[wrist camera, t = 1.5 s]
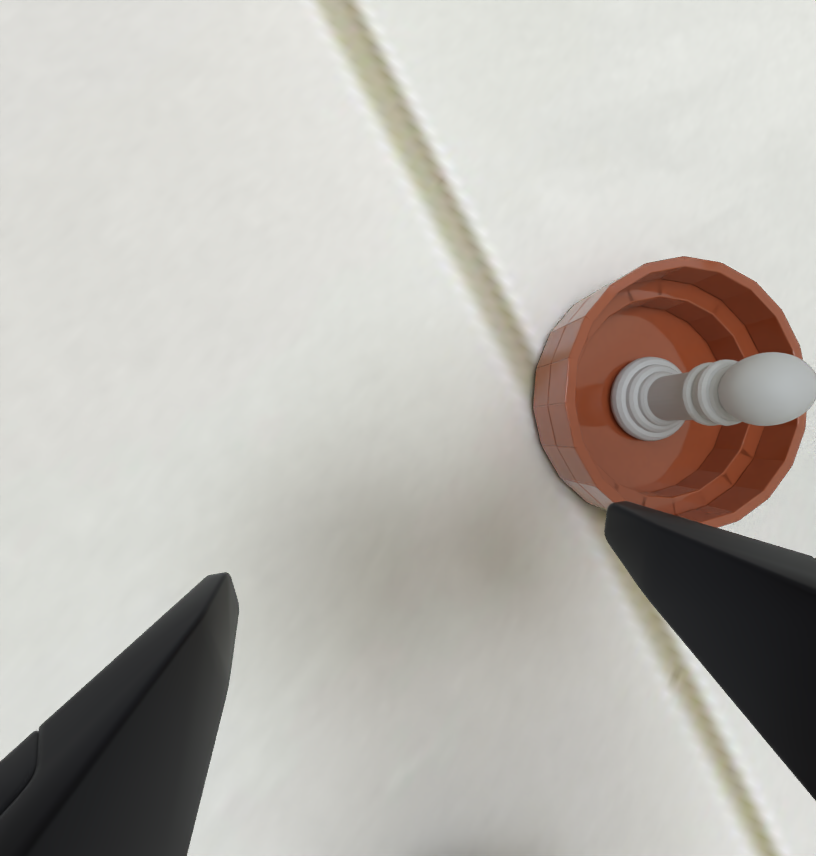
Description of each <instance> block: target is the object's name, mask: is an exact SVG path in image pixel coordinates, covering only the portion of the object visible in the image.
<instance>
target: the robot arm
mask: <svg viewBox="0 0 816 856" xmlns="http://www.w3.org/2000/svg"><path fill="white" fill-rule="evenodd" d="M604 532H605V537H606V540H607V542H608V543H609V545H610V546H611V548H612V549H613V550H614V552H615V553H616V555H617V556H618V558H619V559H620V561H621V562H622V563H623V565H624V566H625V568H626V569H627V571H628V572H629V574H630V575H631V576H632V578H633V579H634V581H635V582H636V584H637V585H638V587H639V588H640V589H641V591H642V592H643V593H644V595H645V596H646V597H647V598H648V600H649V601H650V602H651V604H652V605H653V606H654V607H655V608H656V610H657V611H658V612H659V613H660V614H661V616H662V617H663V618H664V619H665V620H666V622H667V623H668V624H669V625H670V626H671V628H672V629H673V630H674V631H675V632H676V634H677V635H678V636H679V637H680V638H681V640H682V641H683V642H684V643H685V644H686V646H687V647H688V648H689V649H690V650H691V652H692V653H693V654H694V655H695V656H696V658H697V659H698V660H699V661H700V662H701V664H702V665H703V666H704V667H705V668H706V670H707V671H708V672H709V673H710V674H711V676H712V677H713V678H714V679H715V680H716V682H717V683H718V684H719V685H720V686H721V688H722V689H723V690H724V691H725V692H726V694H727V695H728V696H729V697H730V698H731V700H732V701H733V702H734V703H735V704H736V706H737V707H738V708H739V709H740V710H741V712H742V713H743V714H744V715H745V716H746V718H747V719H748V720H749V721H750V722H751V724H752V725H753V726H754V727H755V728H756V730H757V731H758V732H759V733H760V734H761V736H762V737H763V738H764V739H765V740H766V742H767V743H768V744H769V745H770V746H771V748H772V749H773V750H774V751H775V752H776V754H777V755H778V756H779V757H780V758H781V760H782V761H783V762H784V763H785V764H786V766H787V767H788V768H789V769H790V770H791V772H792V773H793V774H794V775H795V776H796V778H797V779H798V780H799V781H800V782H801V784H802V785H803V786H804V787H805V788H806V790H807V791H808V792H809V793H810V794H811V796H812V797H813V798H814V799H815V800H816V558H815V559H814V558H813V557H812V556H809V555H806V554H803V553H799V552H796V551H793V550H789V549H786V548H783V547H779V546H776V545H772V544H769V543H766V542H762V541H759V540H756V539H752V538H749V537H746V536H742V535H739V534H736V533H732V532H729V531H726V530H722V529H719V528H716V527H712V526H709V525H706V524H702V523H699V522H695V521H692V520H689V519H685V518H682V517H679V516H675V515H672V514H669V513H665V512H662V511H659V510H655V509H652V508H649V507H645V506H642V505H639V504H635V503H632V502H629V501H621V502H615V503H611V504H610V505H609V506H608V508H607V514H606V522H605V531H604ZM238 615H239V603H238V599H237V596H236V592H235V589H234V585H233V582H232V579H231V576H230V575H229V574H228V573H226V572H224V573H219V574H213V575H209V576H207V577H206V578H204V579H203V580H202V581H201V582H200V583H199V584H198V585H196V586H195V587H194V588H193V589H192V590H191V591H190V592H189V593H188V594H186V595H185V596H184V597H183V598H182V599H181V600H180V601H179V602H178V603H176V604H175V605H174V606H173V607H172V608H171V609H170V610H169V611H168V612H166V613H165V614H164V615H163V616H162V617H161V618H160V619H159V620H158V621H156V622H155V623H154V624H153V625H152V626H151V627H150V628H149V629H147V630H146V631H145V632H144V633H143V634H142V635H141V636H140V637H139V638H137V639H136V640H135V641H134V642H133V643H132V644H131V645H130V646H129V647H127V648H126V649H125V650H124V651H123V652H122V653H121V654H120V655H119V656H117V657H116V658H115V659H114V660H113V661H112V662H111V663H110V664H109V665H107V666H106V667H105V668H104V669H103V670H102V671H101V672H100V673H99V674H97V675H96V676H95V677H94V678H93V679H92V680H91V681H90V682H89V683H87V684H86V685H85V686H84V687H83V688H82V689H81V690H80V691H79V692H77V693H76V694H75V695H74V696H73V697H72V698H71V699H70V700H68V701H67V702H66V703H65V704H64V705H63V706H62V707H61V708H60V709H58V710H57V711H56V712H55V713H54V714H53V715H52V716H51V717H50V718H48V719H47V720H46V721H45V722H44V723H43V724H42V725H41V726H40V727H39V731H34V732H33V733H32V734H30V735H29V736H28V737H27V738H26V739H25V740H24V741H23V742H22V743H20V744H19V745H18V746H17V747H16V748H15V749H14V750H13V751H12V752H10V753H9V754H8V755H7V756H6V757H5V758H4V759H3V760H1V761H0V856H187V853H188V849H189V845H190V841H191V837H192V832H193V828H194V824H195V820H196V816H197V812H198V808H199V804H200V800H201V796H202V792H203V788H204V784H205V780H206V776H207V772H208V768H209V764H210V760H211V756H212V752H213V748H214V744H215V740H216V736H217V732H218V728H219V724H220V720H221V716H222V712H223V708H224V704H225V700H226V695H227V691H228V686H229V680H230V674H231V666H232V659H233V652H234V644H235V637H236V630H237V623H238Z"/></svg>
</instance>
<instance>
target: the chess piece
mask: <svg viewBox="0 0 816 856" xmlns="http://www.w3.org/2000/svg"><path fill="white" fill-rule="evenodd" d="M610 400H611V408H612V412H613V415H614V417H615V419H616V421H617V423H618V424H619V426H620V427H621V428H622V429H623V430H624V431H625V432H626V433H628V434H629V435H631V436H633V437H635V438H637V439H640V440H644V441H657V440H661V439H664V438H667V437H669V436H671V435H672V434H674V433H675V432H676V431H677V430H679V428H680V427H681V426H682V425H683V423H684V422H685V420H694V421H695V422H697V423H699V424H703V425H707V426H715V425H724V426H730V425H735V424H738V423H740V422H745V423H748V424H752V425H757V426H772V425H778V424H783V423H786V422H789V421H791V420H794V419H796V418H797V417H799V416H801V415H802V414H804V413H805V412H806V411H807V410H808V409H809V408H810V407H811V406H812V405H813V403H814V402H815V400H816V374H815V372H814V370H813V369H812V368H811V367H810V366H809V365H808V364H807V363H806V362H805V361H803V360H801V359H800V358H798V357H795V356H793V355H790V354H786V353H779V352H766V353H760V354H756V355H752V356H749V357H747V358H744V359H742V360H740V361H739V362H738V361H735V360H719V361H716V362H714V363H712V362H708V363H703V364H700V365H698V366H696V367H694V368H693V369H692V370H691V371H689V372H686V373H682V372H681V371H680V370H679V369H678V367H676V366H675V365H674V364H673V363H671V362H669V361H667V360H665V359H662V358H657V357H643V358H639V359H636V360H634V361H632V362H631V363H629V364H628V365H626V366H625V367H624V368H623V369H622V370H621V371H620V372H619V373H618V375H617V376H616V378H615V380H614V383H613V385H612V389H611V396H610Z"/></svg>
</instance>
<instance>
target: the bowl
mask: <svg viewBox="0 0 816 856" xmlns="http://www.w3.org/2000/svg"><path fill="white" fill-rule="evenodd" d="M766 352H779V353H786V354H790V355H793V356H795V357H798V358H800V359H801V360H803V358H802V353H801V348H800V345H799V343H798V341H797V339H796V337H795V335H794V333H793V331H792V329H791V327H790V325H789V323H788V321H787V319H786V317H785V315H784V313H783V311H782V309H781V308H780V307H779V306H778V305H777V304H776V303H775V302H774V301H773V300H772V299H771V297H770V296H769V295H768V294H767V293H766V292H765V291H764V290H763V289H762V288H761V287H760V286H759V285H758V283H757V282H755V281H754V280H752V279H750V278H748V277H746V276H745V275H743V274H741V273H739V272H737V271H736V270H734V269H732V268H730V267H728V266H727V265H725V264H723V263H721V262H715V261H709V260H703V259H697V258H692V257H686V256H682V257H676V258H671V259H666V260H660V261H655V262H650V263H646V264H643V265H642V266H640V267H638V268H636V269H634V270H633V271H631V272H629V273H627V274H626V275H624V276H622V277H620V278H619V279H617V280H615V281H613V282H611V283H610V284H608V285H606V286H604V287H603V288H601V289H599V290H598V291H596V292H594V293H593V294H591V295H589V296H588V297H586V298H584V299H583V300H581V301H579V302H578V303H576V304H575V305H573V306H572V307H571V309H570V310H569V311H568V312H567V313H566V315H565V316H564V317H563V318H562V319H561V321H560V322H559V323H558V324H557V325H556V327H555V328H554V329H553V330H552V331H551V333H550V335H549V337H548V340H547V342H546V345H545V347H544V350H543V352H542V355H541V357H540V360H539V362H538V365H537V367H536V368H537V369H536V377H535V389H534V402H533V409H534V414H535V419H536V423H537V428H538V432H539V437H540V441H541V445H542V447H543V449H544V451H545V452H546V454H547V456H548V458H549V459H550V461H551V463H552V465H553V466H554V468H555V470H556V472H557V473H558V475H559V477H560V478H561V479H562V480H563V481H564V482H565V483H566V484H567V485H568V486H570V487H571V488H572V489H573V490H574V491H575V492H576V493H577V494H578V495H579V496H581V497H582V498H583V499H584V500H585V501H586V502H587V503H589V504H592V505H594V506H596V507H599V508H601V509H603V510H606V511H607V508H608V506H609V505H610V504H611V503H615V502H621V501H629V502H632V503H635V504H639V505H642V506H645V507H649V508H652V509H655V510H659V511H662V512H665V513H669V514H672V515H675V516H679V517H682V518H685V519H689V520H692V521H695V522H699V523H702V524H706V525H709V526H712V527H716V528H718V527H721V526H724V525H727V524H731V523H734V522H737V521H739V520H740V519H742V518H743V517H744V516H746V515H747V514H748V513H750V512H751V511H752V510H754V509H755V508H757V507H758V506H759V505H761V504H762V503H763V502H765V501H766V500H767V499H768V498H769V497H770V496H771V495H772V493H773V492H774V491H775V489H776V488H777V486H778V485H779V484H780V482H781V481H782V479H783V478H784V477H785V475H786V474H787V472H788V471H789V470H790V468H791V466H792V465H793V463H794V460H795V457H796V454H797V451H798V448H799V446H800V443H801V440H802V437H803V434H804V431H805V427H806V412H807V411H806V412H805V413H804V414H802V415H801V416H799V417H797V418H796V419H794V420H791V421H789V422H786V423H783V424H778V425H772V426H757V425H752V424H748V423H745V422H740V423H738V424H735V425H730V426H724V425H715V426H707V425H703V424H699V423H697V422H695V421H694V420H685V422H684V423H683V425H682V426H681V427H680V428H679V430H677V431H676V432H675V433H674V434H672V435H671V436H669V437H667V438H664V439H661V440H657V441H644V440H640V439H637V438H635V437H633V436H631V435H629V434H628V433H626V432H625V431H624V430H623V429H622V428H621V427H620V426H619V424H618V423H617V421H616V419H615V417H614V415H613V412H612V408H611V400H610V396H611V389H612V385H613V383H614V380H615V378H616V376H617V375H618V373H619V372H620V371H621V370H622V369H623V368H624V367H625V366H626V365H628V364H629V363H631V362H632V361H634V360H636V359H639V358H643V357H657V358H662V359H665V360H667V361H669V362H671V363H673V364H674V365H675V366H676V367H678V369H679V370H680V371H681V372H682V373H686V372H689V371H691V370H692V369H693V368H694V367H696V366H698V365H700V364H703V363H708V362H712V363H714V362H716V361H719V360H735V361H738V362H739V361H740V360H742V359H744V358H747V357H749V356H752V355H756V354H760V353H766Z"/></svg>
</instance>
